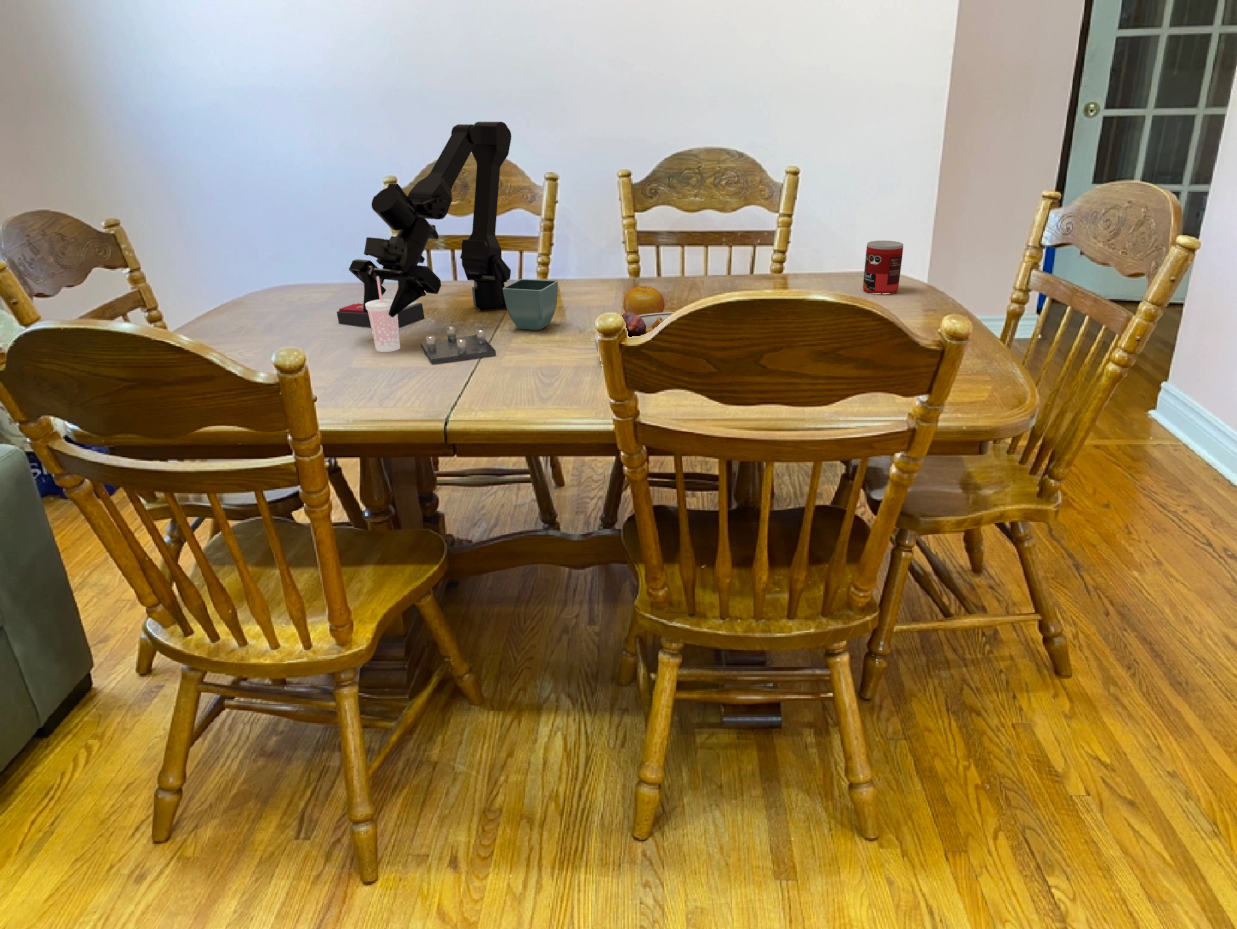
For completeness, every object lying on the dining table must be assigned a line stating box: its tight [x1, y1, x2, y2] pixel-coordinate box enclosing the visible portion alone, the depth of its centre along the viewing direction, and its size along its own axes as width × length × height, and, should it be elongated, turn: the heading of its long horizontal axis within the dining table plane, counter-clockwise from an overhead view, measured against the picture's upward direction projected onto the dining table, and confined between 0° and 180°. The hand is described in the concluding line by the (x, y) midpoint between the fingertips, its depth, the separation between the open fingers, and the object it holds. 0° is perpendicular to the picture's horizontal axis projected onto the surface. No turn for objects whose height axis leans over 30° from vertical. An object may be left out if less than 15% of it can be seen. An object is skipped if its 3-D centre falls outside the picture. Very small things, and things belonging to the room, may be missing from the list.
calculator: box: [336, 300, 425, 329], centre depth 183 cm, size 11×4×15 cm
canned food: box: [862, 240, 904, 294], centre depth 194 cm, size 8×8×11 cm
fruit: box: [622, 285, 666, 315], centre depth 178 cm, size 8×8×8 cm
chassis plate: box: [419, 325, 497, 365], centre depth 161 cm, size 12×12×4 cm
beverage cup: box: [365, 276, 401, 353], centre depth 161 cm, size 6×6×14 cm
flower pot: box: [503, 278, 559, 331], centre depth 174 cm, size 9×9×9 cm
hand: (377, 314), depth 160 cm, fingers closed on beverage cup, 6 cm apart
